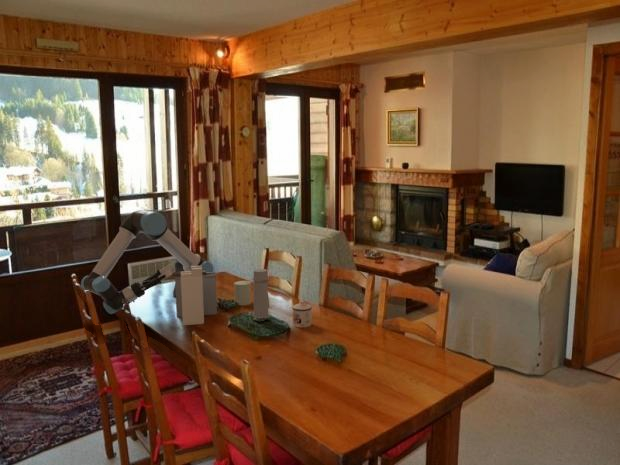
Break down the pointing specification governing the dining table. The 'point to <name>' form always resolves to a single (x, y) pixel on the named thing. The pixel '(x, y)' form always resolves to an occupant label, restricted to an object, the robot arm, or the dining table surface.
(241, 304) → the can
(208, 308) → the grey box
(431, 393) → the dining table surface
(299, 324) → the teacup with lid
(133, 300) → the robot arm
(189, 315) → the cream stand
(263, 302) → the water bottle
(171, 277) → the walnut pin
